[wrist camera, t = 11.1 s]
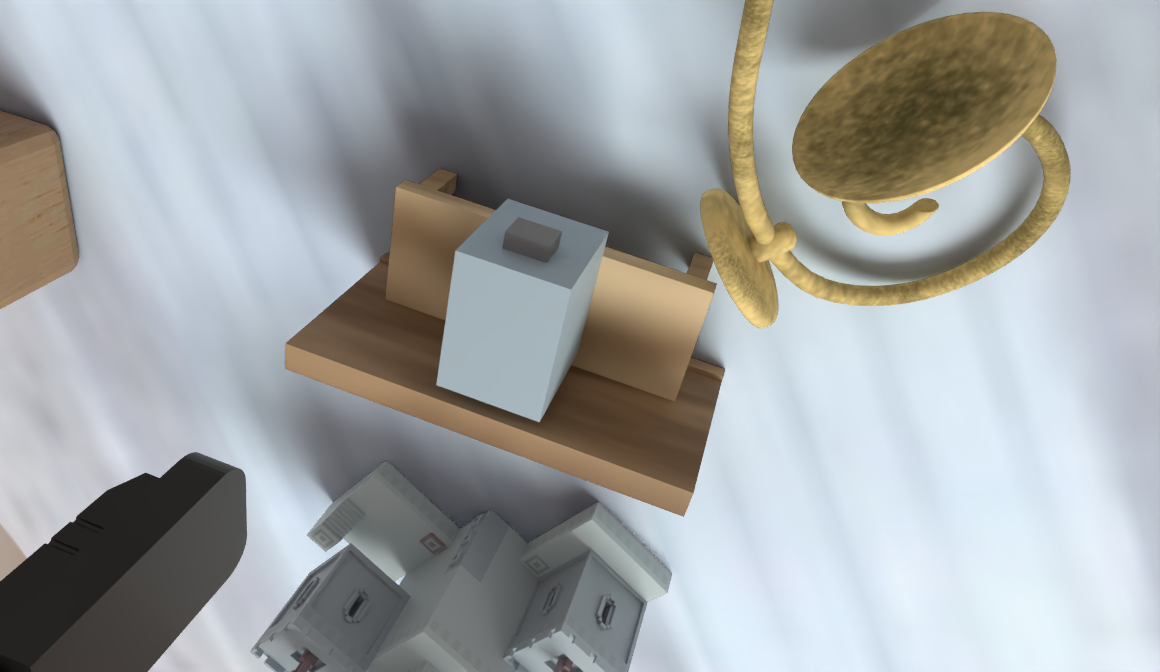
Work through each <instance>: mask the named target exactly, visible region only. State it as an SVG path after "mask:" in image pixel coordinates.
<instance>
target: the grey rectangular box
mask: <svg viewBox="0 0 1160 672" xmlns="http://www.w3.org/2000/svg"><path fill="white" fill-rule="evenodd" d="M608 234H609V232H608V231H605V230H602V229H599V228H596V227H593V226H590V225H587V224H584V223H581V222H578V221H575V220H572V219H568V218H565V217H562V216H559V215H556V214H553V213H550V212H547V211H544V210H541V209H538V208H535V207H532V206H529V205H526V204H523V203H520V202H517V201H513V200H510V199H507V200H506V201H505V202H504V203H503V204H502V205H501V206H500V207H499V208H498V209H497V210H496V211H495V212H494V213H493V214H492V215H491V216H490V217H489V218H488V219H487V220H486V221H485V222H484V223H483V224H482V225H481V226H480V227H479V228H478V229H477V230H476V231H475V232H474V233H473V234H472V235H471V236H470V237H469V238H468V239H467V240H466V241H465V242H464V243H463V244H462V245H461V246H460V247H459V248H458V249H457V250H456V251H455V257H454V264H453V271H452V278H451V285H450V293H449V300H448V307H447V314H446V321H445V328H444V335H443V342H442V349H441V356H440V363H439V370H438V377H437V384H436V385H438V386H440V387H443V388H446V389H449V390H452V391H454V392H457V393H460V394H463V395H465V396H468V397H471V398H474V399H476V400H479V401H482V402H485V403H487V404H490V405H493V406H496V407H498V408H501V409H504V410H507V411H510V412H512V413H515V414H518V415H521V416H523V417H526V418H529V419H532V420H534V421H537V422H540V421H541V419H542V417H543V415H544V413H545V412H546V410H547V408H548V406H549V404H550V403H551V401H552V399H553V397H554V395H555V394H556V392H557V390H558V388H559V386H560V385H561V383H562V381H563V379H564V377H565V375H566V374H567V372H568V370H569V368H570V366H571V365H572V363H573V361H574V359H575V357H576V356H577V354H578V350H579V346H580V342H581V338H582V334H583V331H584V327H585V323H586V319H587V315H588V311H589V307H590V303H591V300H592V296H593V292H594V288H595V284H596V280H597V276H598V272H599V268H600V265H601V261H602V257H603V253H604V249H605V245H606V241H607V237H608Z"/></svg>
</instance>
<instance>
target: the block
mask: <svg viewBox="0 0 1160 672" xmlns="http://www.w3.org/2000/svg"><path fill="white" fill-rule="evenodd" d="M78 259H79V253H78V247H77V241H76V235H75V229H74V223H73V217H72V211H71V205H70V199H69V193H68V187H67V181H66V175H65V169H64V163H63V157H62V151H61V145H60V140H59V138H58V136H57V134H56V133H55V131H54V130H53V129H51V128H50V127H49V126H48V125H45V124H41V123H38V122H35V121H32V120H29V119H26V118H23V117H20V116H17V115H13V114H10V113H7V112H4V111H1V110H0V309H1V308H3V307H5V306H7V305H9V304H11V303H12V302H14V301H16V300H18V299H20V298H22V297H24V296H26V295H27V294H29V293H31V292H33V291H35V290H37V289H39V288H40V287H42V286H44V285H46V284H48V283H50V282H52V281H54V280H55V279H57V278H59V277H61V276H63V275H65V274H67V273H69V272H70V271H72V270H73V269H74V268H75V267H76V265H77V263H78Z"/></svg>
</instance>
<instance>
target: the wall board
mask: <svg viewBox="0 0 1160 672" xmlns="http://www.w3.org/2000/svg"><path fill="white" fill-rule="evenodd" d="M456 180H457V174H456V173H453V172H450V171H447V170H443V169H438V170H437V171H436V172H434V173H433V174H432V175H430V176H429V177H428V178H426V179H425V180H424V181H422V182H421V183H420V184H416V183H413V182H410V181H407V180H405V181H403V182H402V183H401V184H399V185H398V186H397V187H396V192H395V203H394V214H393V224H392V235H391V245H390V253H386V254H385V255H384V256H382V257H381V258H380V263H378V264H377V265H376V266H375V267H374V268H373V269H371V270H370V271H369V272H368V273H367V274H366V275H365V276H363V277H362V278H361V279H360V280H359V281H358V282H356V283H355V284H354V285H353V286H352V287H351V288H349V289H348V290H347V291H346V292H345V293H344V294H342V295H341V296H340V297H339V298H338V299H337V300H336V301H334V302H333V303H332V304H331V305H330V306H329V307H327V308H326V309H325V310H324V311H323V312H322V313H320V314H319V315H318V316H317V317H316V318H315V319H313V320H312V321H311V322H310V323H309V324H308V325H306V326H305V327H304V328H303V329H302V330H301V331H300V332H298V333H297V334H296V335H295V336H294V337H293V338H291V339H290V340H289V341H288V342H287V343H286V350H285V369H287V370H290V371H293V372H295V373H298V374H301V375H303V376H306V377H309V378H312V379H314V380H317V381H320V382H322V383H325V384H328V385H330V386H333V387H336V388H338V389H341V390H344V391H347V392H349V393H352V394H355V395H357V396H360V397H363V398H365V399H368V400H371V401H373V402H376V403H379V404H382V405H384V406H387V407H390V408H392V409H395V410H398V411H400V412H403V413H406V414H408V415H411V416H414V417H417V418H419V419H422V420H425V421H427V422H430V423H433V424H435V425H438V426H441V427H444V428H446V429H449V430H452V431H454V432H457V433H460V434H462V435H465V436H468V437H470V438H473V439H476V440H479V441H481V442H484V443H487V444H489V445H492V446H495V447H497V448H500V449H503V450H505V451H508V452H511V453H514V454H516V455H519V456H522V457H524V458H527V459H530V460H532V461H535V462H538V463H540V464H543V465H546V466H549V467H551V468H554V469H557V470H559V471H562V472H565V473H567V474H570V475H573V476H575V477H578V478H581V479H584V480H586V481H589V482H592V483H594V484H597V485H600V486H602V487H605V488H608V489H610V490H613V491H616V492H619V493H621V494H624V495H627V496H629V497H632V498H635V499H637V500H640V501H643V502H645V503H648V504H651V505H654V506H656V507H659V508H662V509H664V510H667V511H670V512H672V513H675V514H678V515H680V516H683V517H684V515H685V512H686V510H687V507H688V505H689V503H690V500H691V498H692V495H693V492H694V488H695V485H696V481H697V477H698V473H699V469H700V465H701V461H702V457H703V453H704V449H705V445H706V441H707V437H708V433H709V429H710V425H711V421H712V417H713V413H714V409H715V406H716V402H717V398H718V394H719V390H720V386H721V382H722V379H723V376H724V372H725V369H723V368H720V367H717V366H714V365H711V364H708V363H705V362H703V361H700V360H697V359H694V358H691V355H692V353H693V350H694V347H695V344H696V341H697V339H698V336H699V333H700V330H701V327H702V325H703V322H704V319H705V316H706V313H707V311H708V308H709V305H710V302H711V300H712V297H713V294H714V291H715V288H716V285H717V284H716V283H713V282H710V281H707V278H708V275H709V272H710V269H711V266H712V263H713V258H711V257H708V256H705V255H702V254H699V253H696V252H695V254H694V256H693V259H692V261H691V264H690V266H689V269H688V271H687V274H686V273H683V272H680V271H677V270H674V269H671V268H668V267H665V266H662V265H659V264H656V263H653V262H650V261H647V260H644V259H641V258H638V257H635V256H632V255H629V254H626V253H623V252H620V251H617V250H614V249H611V248H608V247H605V249H604V253H603V257H602V261H601V265H600V268H599V272H598V276H597V280H596V284H595V288H594V292H593V296H592V300H591V303H590V307H589V311H588V315H587V319H586V323H585V327H584V331H583V334H582V338H581V342H580V346H579V350H578V354H577V356H576V357H575V359H574V361H573V363H572V365H571V366H570V368H569V370H568V372H567V374H566V375H565V377H564V379H563V381H562V383H561V385H560V386H559V388H558V390H557V392H556V394H555V395H554V397H553V399H552V401H551V403H550V404H549V406H548V408H547V410H546V412H545V413H544V415H543V417H542V419H541V421H540V422H537V421H534V420H532V419H529V418H526V417H523V416H521V415H518V414H515V413H512V412H510V411H507V410H504V409H501V408H498V407H496V406H493V405H490V404H487V403H485V402H482V401H479V400H476V399H474V398H471V397H468V396H465V395H463V394H460V393H457V392H454V391H452V390H449V389H446V388H443V387H440V386H438V385H436V384H437V377H438V370H439V363H440V356H441V349H442V342H443V335H444V328H445V321H446V314H447V307H448V300H449V293H450V285H451V278H452V271H453V264H454V257H455V251H456V250H457V249H458V248H459V247H460V246H461V245H462V244H463V243H464V242H465V241H466V240H467V239H468V238H469V237H470V236H471V235H472V234H473V233H474V232H475V231H476V230H477V229H478V228H479V227H480V226H481V225H482V224H483V223H484V222H485V221H486V220H487V219H488V218H489V217H490V216H491V215H492V214H493V213H494V212H495V211H496V210H494V209H491V208H488V207H485V206H482V205H479V204H476V203H473V202H470V201H467V200H464V199H461V198H458V197H455V196H452V195H451V194H453V193H454V192H455V188H456Z"/></svg>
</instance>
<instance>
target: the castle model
mask: <svg viewBox="0 0 1160 672" xmlns="http://www.w3.org/2000/svg"><path fill="white" fill-rule="evenodd" d="M307 536H308V537H309V538H311V539H312V540H313V541H314V542H315V543H316V544H317V545H319V546H320V547H321V548H322V549H323V550H324V551H325V552H326V551H327V550H329V549H330V548H332V547H333V546H334V545H336V544H337V543H338V542H340V541H341V540H342V538H344V539H345V540H346V541H347V542H348V543H349V545H348V546H346V547H345V548H344V549H342V550H341V551H339V552H338V553H337V554H335V555H334V556H332V557H331V558H330V559H328V560H327V561H325V562H324V563H323V564H321V565H320V566H318V567H317V568H316V569H314V570H313V571H311V572H310V573H309V574H308V576H307V577H306V578H305V580H304V581H303V582H302V584H301V585H300V586H299V588H298V589H297V590H296V592H295V593H294V594H293V596H292V597H291V598H290V600H289V601H288V602H287V603H286V605H285V606H284V607H283V609H282V610H281V611H280V613H279V614H278V615H277V617H276V618H275V619H274V621H273V622H272V623H271V625H270V626H269V627H268V629H267V630H266V631H265V633H264V634H263V635H262V637H261V638H260V639H259V640H258V642H257V643H256V644H255V646H254V647H253V648H252V650H251V651H250V652H251V653H252V654H253V655H255V656H256V657H257V658H260V657H261V655H262V654H265V655H266V656H267V657H268V658H267V659H266V661H265V662H264V664H265V665H266V666H268V667H269V668H270V669H271V670H272V671H274V672H628V670H629V667H630V663H631V660H632V656H633V652H634V649H635V645H636V641H637V638H638V634H639V631H640V627H641V623H642V620H643V616H644V613H645V609H646V605H647V602H649V601H651V600H653V599H655V598H658V597H660V596H662V595H664V594H666V593H667V592H668V588H669V584H670V580H671V576H672V573H671V572H670V571H669V570H668V569H667V568H666V567H665V566H664V565H663V564H662V563H661V562H660V561H659V560H658V559H657V558H656V557H655V556H654V555H653V554H652V553H651V552H650V551H649V550H648V549H647V548H646V547H645V546H644V545H643V544H642V543H641V542H640V541H639V540H638V539H637V538H636V537H635V536H634V535H633V534H632V533H631V532H630V531H629V530H628V529H627V528H626V527H624V526H623V525H622V524H621V523H620V522H619V521H618V520H617V519H616V518H615V517H614V516H613V515H612V514H611V513H610V512H609V511H608V510H607V509H606V508H605V507H604V506H603V505H602V504H601V503H600V502H597V503H595V504H593V505H592V506H590V507H588V508H587V509H585V510H583V511H582V512H580V513H578V514H576V515H575V516H573V517H571V518H570V519H568V520H566V521H565V522H563V523H561V524H559V525H558V526H556V527H554V528H553V529H551V530H549V531H548V532H546V533H544V534H542V535H541V536H539V537H537V538H536V539H534V540H532V541H530V542H529V543H527V542H526V541H525V540H524V539H523V538H522V537H521V536H520V535H519V534H518V533H517V532H516V531H515V530H513V529H512V528H511V527H510V526H509V525H508V524H507V523H506V522H505V521H504V520H503V519H502V518H501V517H500V516H499V515H498V514H497V513H496V512H494V511H493V510H492V509H490V510H489V511H487V512H485V513H482V514H480V515H479V516H477V517H476V518H475V519H474V520H473V521H472V522H470V523H468V524H467V525H465V526H464V527H462V528H461V529H460V528H459V527H458V526H457V525H456V524H454V523H453V522H452V521H451V520H450V519H449V518H448V517H447V516H446V515H445V514H444V513H443V512H442V511H441V510H439V509H438V508H437V507H436V506H435V505H434V504H433V503H432V502H431V501H430V500H429V499H428V498H427V497H425V496H424V495H423V494H422V493H421V492H420V491H419V490H418V489H417V488H416V487H415V486H414V485H413V484H412V483H410V482H409V481H408V480H407V479H406V478H405V477H404V476H403V475H402V474H401V473H400V472H399V471H398V470H397V469H395V468H394V467H393V466H392V465H391V464H390V463H389V462H388V461H387V460H386V461H385V462H384V463H382V464H381V465H380V466H379V467H377V468H376V469H375V470H373V471H372V472H371V473H370V474H368V475H367V476H366V477H365V478H363V479H362V480H361V481H359V482H358V483H357V484H356V485H354V486H353V487H352V488H351V489H349V490H348V491H347V492H345V493H344V494H343V495H342V496H340V497H339V498H338V499H336V500H335V501H334V502H333V503H332V504H331V505H330V507H329V508H328V509H327V510H326V512H325V513H324V514H323V515H322V517H321V518H320V519H319V520H318V522H317V523H316V524H315V525H314V527H313V528H312V529H311V530H310V532H309V533H308V534H307ZM405 574H406V575H405ZM404 575H405V577H404V578H403V580H402V582H401V583H400V585H398V584H396V583H395V582H394V581H396V580H397V579H399V578H400V577H402V576H404Z"/></svg>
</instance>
